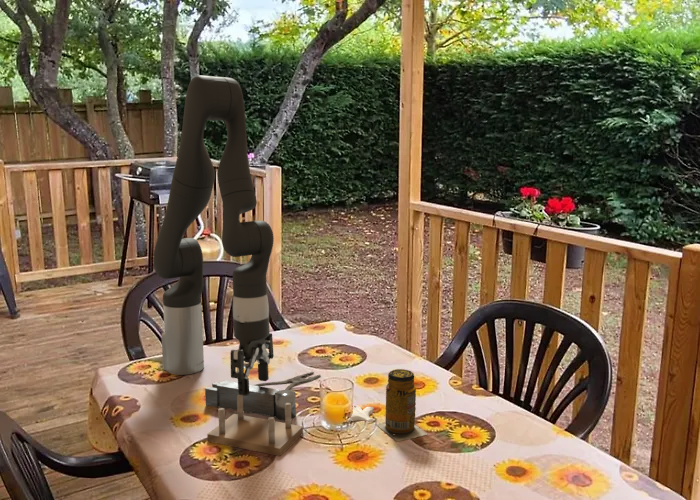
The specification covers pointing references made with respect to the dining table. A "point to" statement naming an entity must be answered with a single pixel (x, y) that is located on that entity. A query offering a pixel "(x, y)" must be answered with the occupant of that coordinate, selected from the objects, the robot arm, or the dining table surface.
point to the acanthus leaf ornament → (362, 414)
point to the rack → (255, 431)
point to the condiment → (401, 406)
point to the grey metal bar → (252, 399)
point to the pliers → (293, 380)
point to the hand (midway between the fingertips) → (253, 387)
